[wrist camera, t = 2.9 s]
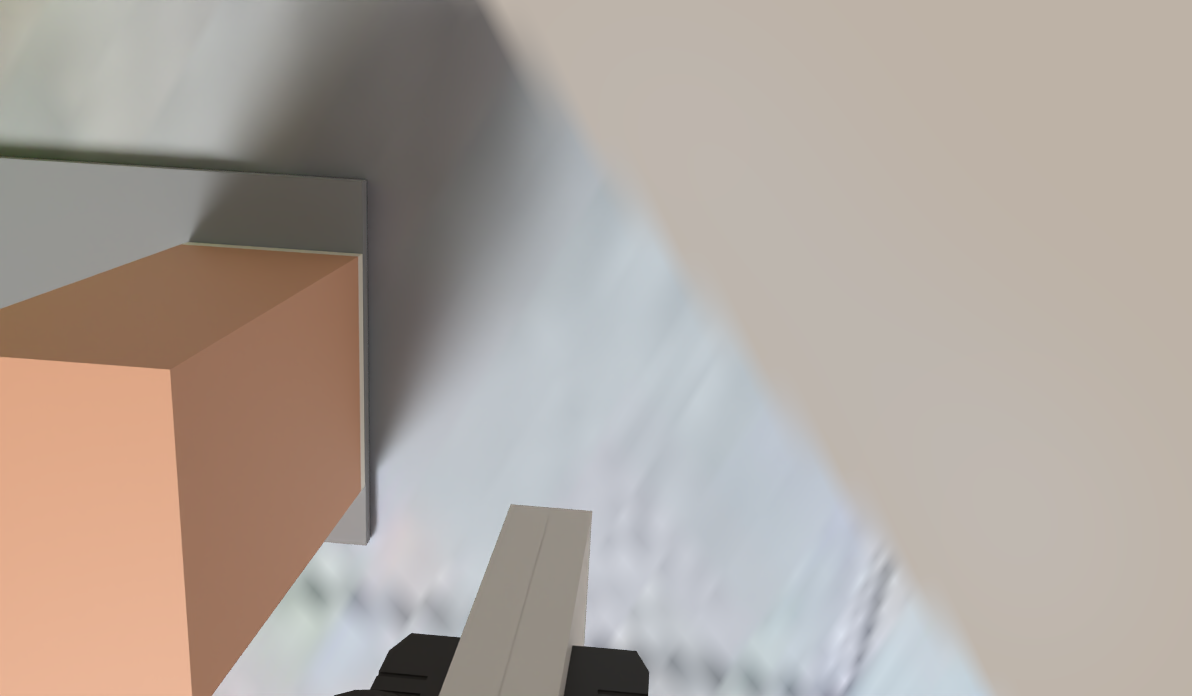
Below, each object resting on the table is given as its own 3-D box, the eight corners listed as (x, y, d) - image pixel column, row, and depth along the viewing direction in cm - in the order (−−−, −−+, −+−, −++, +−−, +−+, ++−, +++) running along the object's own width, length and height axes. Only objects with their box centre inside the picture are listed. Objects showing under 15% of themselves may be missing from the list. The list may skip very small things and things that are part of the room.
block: (188, 241, 28) (-111, 348, 17) (363, 253, 27) (169, 369, 17) (202, 471, 30) (-59, 695, 19) (365, 485, 29) (193, 720, 19)
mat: (-185, 144, 28) (-196, 145, 28) (366, 179, 27) (362, 181, 27) (-128, 497, 31) (-137, 503, 31) (369, 539, 30) (366, 545, 30)
